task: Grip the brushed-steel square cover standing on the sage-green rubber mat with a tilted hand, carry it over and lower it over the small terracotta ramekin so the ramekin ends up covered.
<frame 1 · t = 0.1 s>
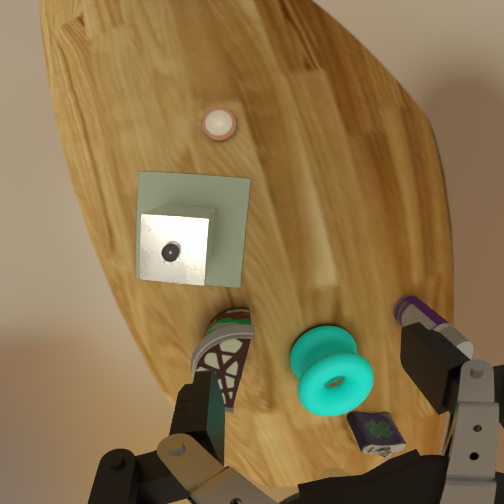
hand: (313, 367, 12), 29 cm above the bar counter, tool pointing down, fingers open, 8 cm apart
rubber mat: (189, 229, 40), on the bar counter
donuts: (321, 351, 45), on the bar counter
terracotta ramekin: (220, 127, 37), on the bar counter
food container: (220, 332, 44), on the bar counter
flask: (367, 415, 49), on the bar counter
steel cover: (189, 230, 40), resting on rubber mat
container: (406, 308, 44), on the bar counter
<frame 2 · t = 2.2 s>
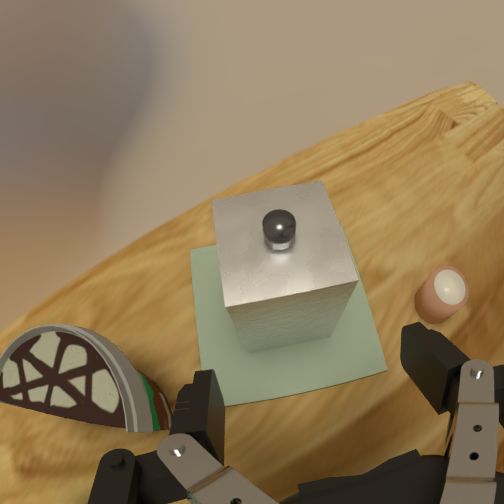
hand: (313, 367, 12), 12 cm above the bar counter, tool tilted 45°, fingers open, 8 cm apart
rubber mat: (282, 309, 26), on the bar counter
terracotta ramekin: (433, 303, 24), on the bar counter
food container: (123, 389, 23), on the bar counter
steel cover: (281, 307, 25), resting on rubber mat
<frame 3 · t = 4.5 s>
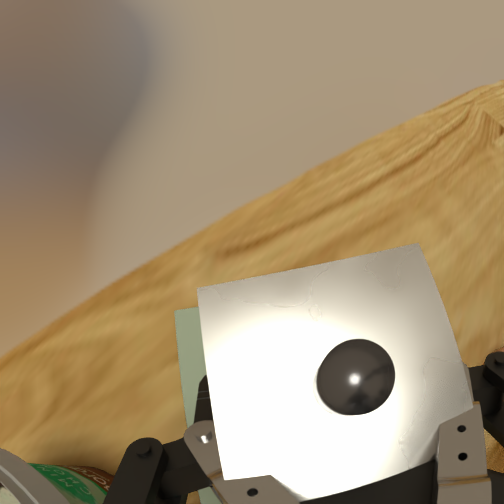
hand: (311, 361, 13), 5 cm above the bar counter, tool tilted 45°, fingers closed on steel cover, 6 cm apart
rubber mat: (310, 403, 16), on the bar counter
food container: (97, 492, 14), on the bar counter
steel cover: (310, 403, 16), resting on rubber mat, touching gripper
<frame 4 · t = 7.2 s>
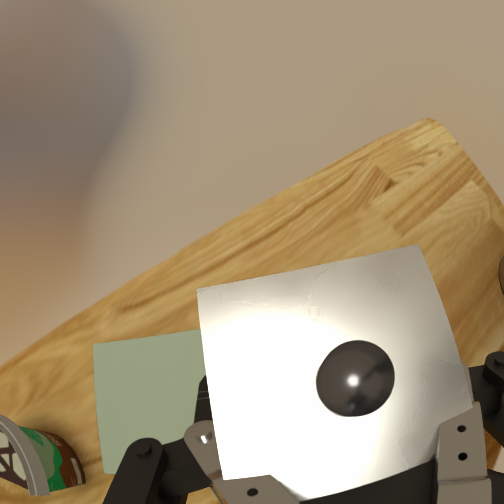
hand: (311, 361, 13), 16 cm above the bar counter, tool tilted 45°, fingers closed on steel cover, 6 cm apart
rubber mat: (159, 405, 27), on the bar counter
food container: (52, 448, 24), on the bar counter
steel cover: (310, 403, 16), point 11 cm above the bar counter, touching gripper
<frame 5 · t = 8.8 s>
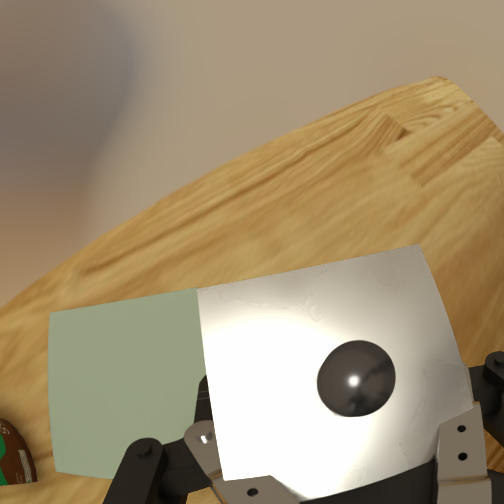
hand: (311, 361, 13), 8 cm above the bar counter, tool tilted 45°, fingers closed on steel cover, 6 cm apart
rubber mat: (120, 389, 20), on the bar counter
food container: (4, 437, 18), on the bar counter
steel cover: (310, 404, 16), point 4 cm above the bar counter, touching gripper
when the fingers open (6 cm above the bar counter, at t = 9.8 s): steel cover drops 1 cm, on the bar counter.
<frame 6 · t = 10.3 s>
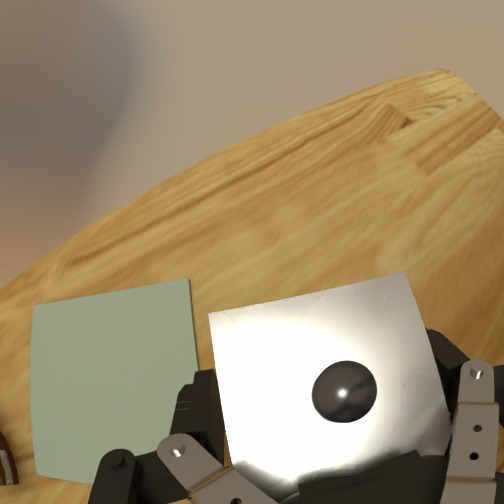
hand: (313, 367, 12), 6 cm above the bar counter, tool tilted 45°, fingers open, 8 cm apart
rubber mat: (103, 388, 18), on the bar counter
steel cover: (309, 407, 17), on the bar counter
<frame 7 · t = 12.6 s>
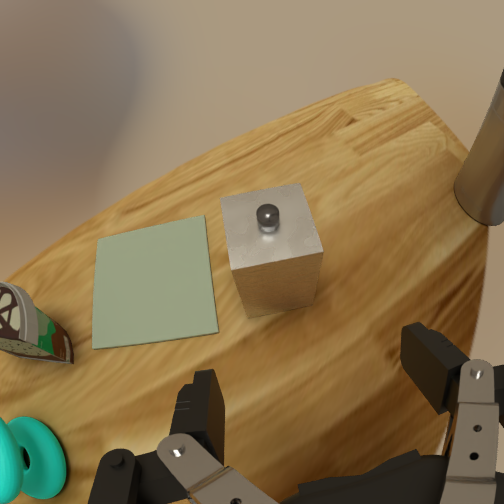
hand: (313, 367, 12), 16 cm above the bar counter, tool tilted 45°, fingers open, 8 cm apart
rubber mat: (149, 281, 34), on the bar counter
donuts: (40, 458, 24), on the bar counter
food container: (48, 336, 31), on the bar counter
steel cover: (273, 282, 32), on the bar counter
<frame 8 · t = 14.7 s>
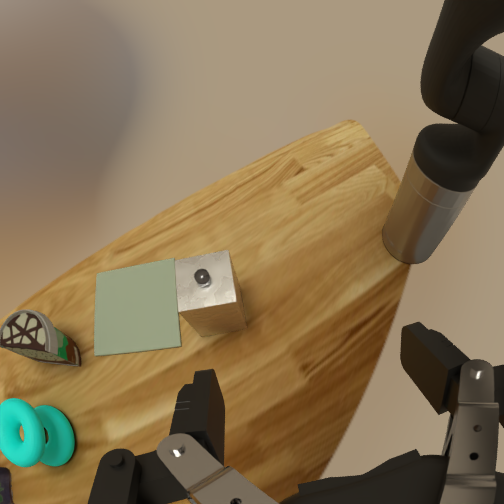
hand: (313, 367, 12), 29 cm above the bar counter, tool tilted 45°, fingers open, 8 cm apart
rubber mat: (134, 307, 45), on the bar counter
donuts: (54, 436, 36), on the bar counter
food container: (61, 346, 43), on the bar counter
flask: (8, 489, 29), on the bar counter
steel cover: (221, 311, 44), on the bar counter
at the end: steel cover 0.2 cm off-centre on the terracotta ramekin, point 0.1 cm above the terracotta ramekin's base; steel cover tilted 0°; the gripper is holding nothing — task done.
